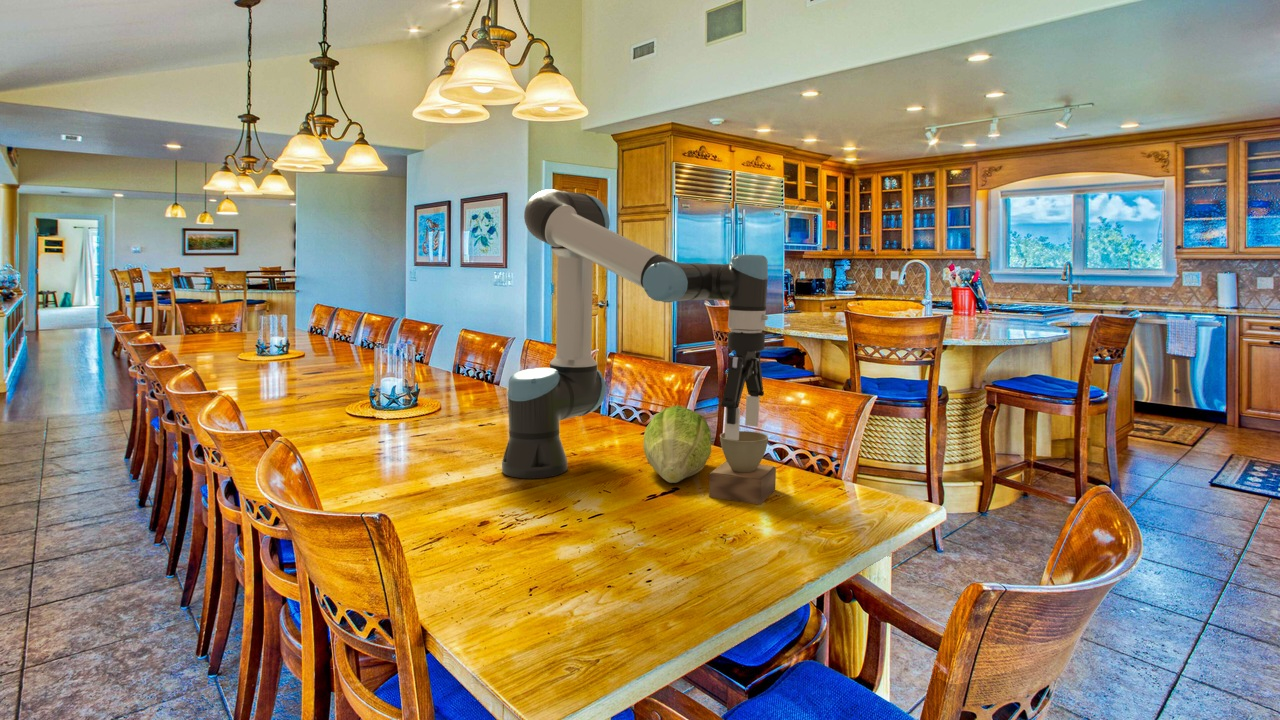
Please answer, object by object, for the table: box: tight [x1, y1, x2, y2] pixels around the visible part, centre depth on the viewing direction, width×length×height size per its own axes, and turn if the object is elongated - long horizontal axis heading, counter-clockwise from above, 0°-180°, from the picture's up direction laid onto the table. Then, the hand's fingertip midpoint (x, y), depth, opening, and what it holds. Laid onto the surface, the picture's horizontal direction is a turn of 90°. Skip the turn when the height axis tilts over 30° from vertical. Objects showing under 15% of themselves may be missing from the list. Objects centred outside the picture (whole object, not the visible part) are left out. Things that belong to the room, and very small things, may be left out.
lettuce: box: [643, 405, 712, 484], centre depth 161 cm, size 15×24×16 cm
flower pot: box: [719, 430, 769, 472], centre depth 146 cm, size 10×10×7 cm
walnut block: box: [708, 460, 777, 505], centre depth 147 cm, size 11×11×5 cm
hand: (742, 432), depth 146 cm, fingers open, 13 cm apart
